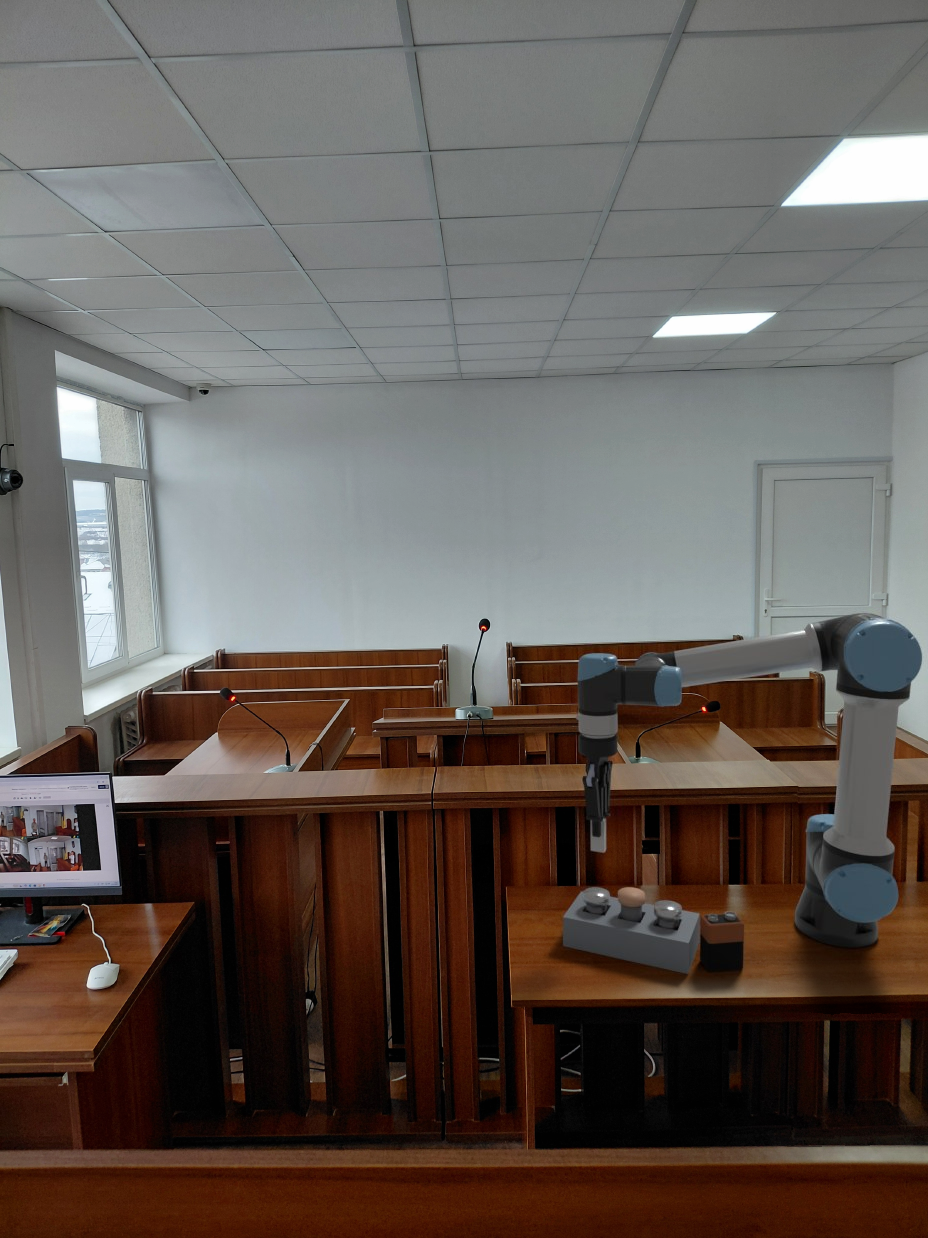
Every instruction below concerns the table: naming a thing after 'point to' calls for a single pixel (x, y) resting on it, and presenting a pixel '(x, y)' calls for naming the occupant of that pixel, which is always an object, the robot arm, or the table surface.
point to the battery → (721, 942)
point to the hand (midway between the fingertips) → (598, 850)
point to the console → (632, 936)
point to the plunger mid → (631, 903)
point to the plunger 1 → (596, 900)
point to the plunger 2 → (667, 914)
